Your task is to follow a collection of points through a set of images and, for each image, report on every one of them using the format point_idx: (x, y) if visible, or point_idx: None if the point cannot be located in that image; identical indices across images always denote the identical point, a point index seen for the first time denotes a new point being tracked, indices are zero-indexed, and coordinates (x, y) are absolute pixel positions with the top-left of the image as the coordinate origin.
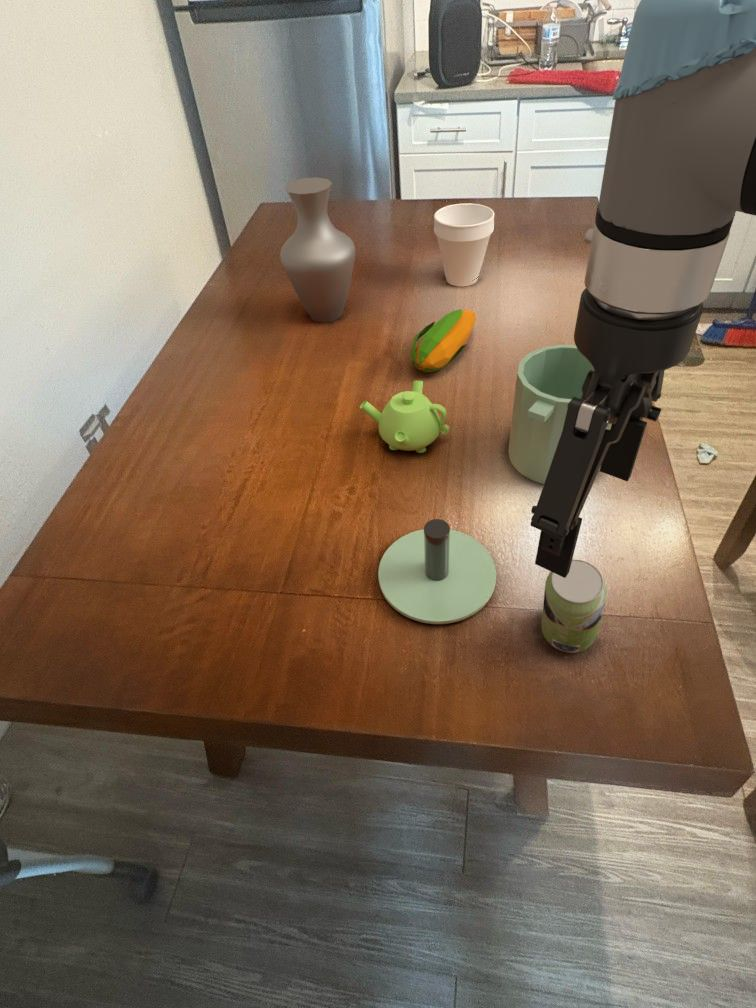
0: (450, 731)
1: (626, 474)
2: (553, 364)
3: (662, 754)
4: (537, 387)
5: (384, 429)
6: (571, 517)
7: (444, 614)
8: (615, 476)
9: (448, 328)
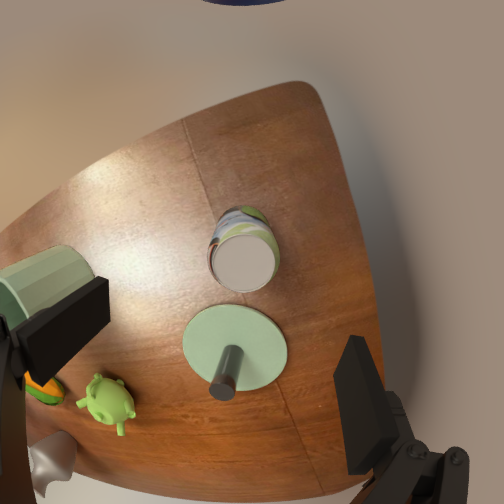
0: (371, 295)
1: (101, 289)
2: (10, 327)
3: (330, 131)
4: None
5: (128, 417)
6: (454, 480)
7: (274, 336)
8: (108, 298)
9: (30, 388)
